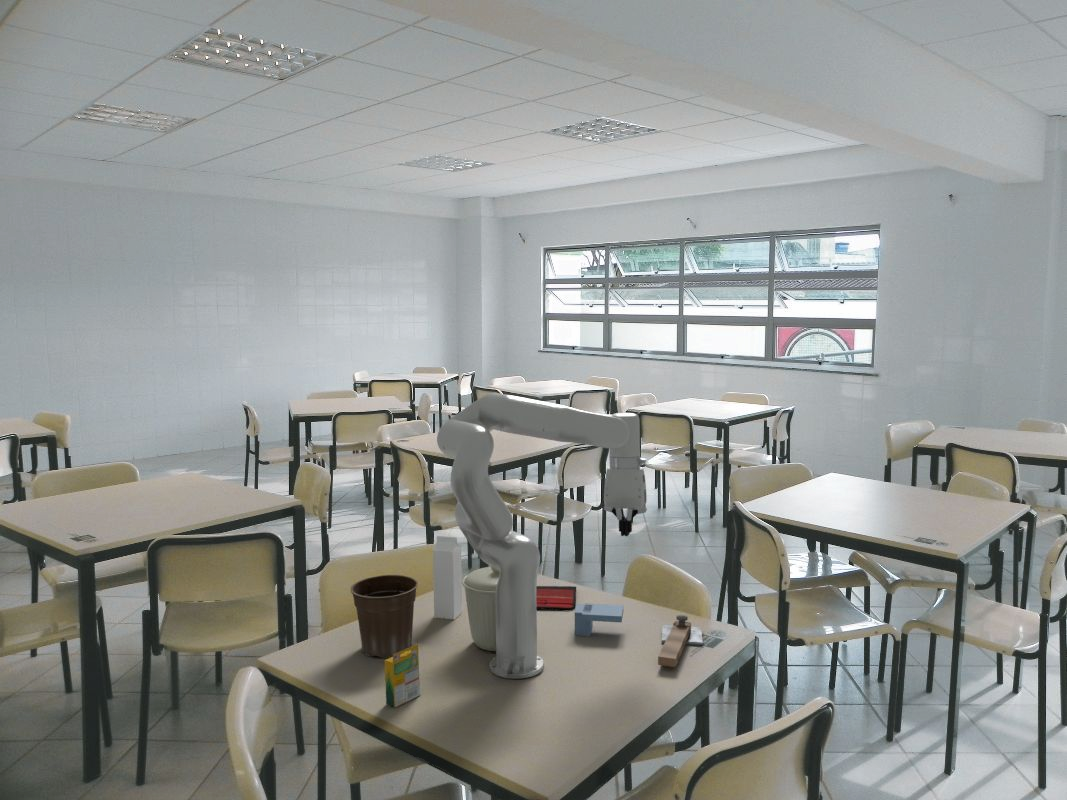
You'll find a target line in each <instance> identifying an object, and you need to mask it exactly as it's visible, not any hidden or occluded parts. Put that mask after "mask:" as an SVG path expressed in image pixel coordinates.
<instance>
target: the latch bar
mask: <svg viewBox="0 0 1067 800" xmlns="http://www.w3.org/2000/svg"><path fill="white" fill-rule="evenodd" d="M688 619H689V618H688V616H687V615H685V614H678V615H676V620H675V621H674V622H673V623H672V626H673V627H672V629H671V631H670V633H669V635H668V637H667V639H666V641H665V643H663V646H662V648H661V650H660V652H659V653H658V656H657V664H658V666H664V667H671V668H676V667H677V664H678V662H679V660H680V657H681V655H682V653H683V650H684V648H685V646H686V645H685V643H686V641H687V639H688V636H689V634H690V633H691V627H692V622H690V621H689V622H688Z"/></svg>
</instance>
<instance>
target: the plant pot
mask: <svg viewBox="0 0 1067 800" xmlns="http://www.w3.org/2000/svg"><path fill="white" fill-rule="evenodd" d="M418 587H419V582H418V580H416V579H415V578H414V577H411V576H407V575H400V574H382V575H376V576H370V577H366V578H363V579H361V580H358V581H357V582H355V583H354V584H352V585H351V587H350V592H351V593H350V594H352V596H353V604H354V606H355V608H356V614H357V620H358V626H359V627H358V628H359V634H360V642H361V643H360V644H361V649H362V652H363V654H364V655H366V654H367V655H366V656H368V655H369V656H368V657H371V656H372V657H371V658H374V657H375V656H376V657H379V658H381V659H385V658H386V657H387V658H391V657H393V654H396V653H398V652H400V651H402V650H405V649H407V648H409V647H412V646H413V627H414V625H413V624H414V610H415V609H414V607H415V601H416V597H417V595H416V594H417V588H418Z"/></svg>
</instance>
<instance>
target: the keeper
mask: <svg viewBox="0 0 1067 800" xmlns="http://www.w3.org/2000/svg"><path fill="white" fill-rule="evenodd" d="M623 615H624V604H610V603H609V604H605V603H589V602H588V603H587V602H585V603H584V604H580V603H576V607H575V609H574V636H584V637H591V635H592V631H593V626H594V625H593V624H594V623H593V622H603V623H605V622H607V623H622V622H623Z"/></svg>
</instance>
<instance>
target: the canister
mask: <svg viewBox="0 0 1067 800" xmlns="http://www.w3.org/2000/svg"><path fill="white" fill-rule="evenodd" d="M499 575H500V572H499V570H497V569H496V568H494V567H492V566H487V567H481V568H478V569H475V570H473V571H471V572H469V573H468V574H466V575H465V576H464V577H463V578H462V587H464V593H465V601H466V609H467V615H468V622H469V623H468V624H469V628H470V629H469V630H470V635H471V639H472V641H473V643H474V644H475V645H476V646H477V647H478V648H480V649H482V650H484V651H489V652H496V615H495V590H496V585H497V582H498V579H499Z"/></svg>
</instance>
